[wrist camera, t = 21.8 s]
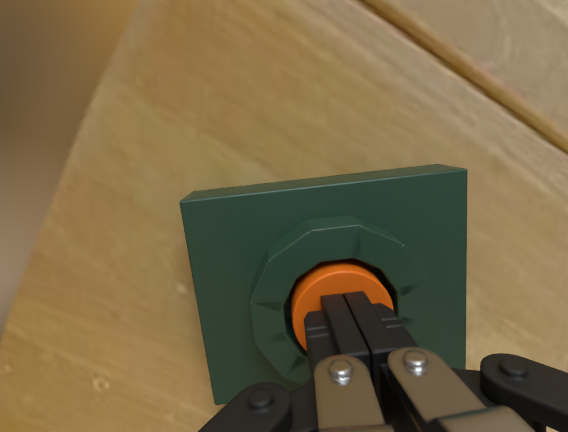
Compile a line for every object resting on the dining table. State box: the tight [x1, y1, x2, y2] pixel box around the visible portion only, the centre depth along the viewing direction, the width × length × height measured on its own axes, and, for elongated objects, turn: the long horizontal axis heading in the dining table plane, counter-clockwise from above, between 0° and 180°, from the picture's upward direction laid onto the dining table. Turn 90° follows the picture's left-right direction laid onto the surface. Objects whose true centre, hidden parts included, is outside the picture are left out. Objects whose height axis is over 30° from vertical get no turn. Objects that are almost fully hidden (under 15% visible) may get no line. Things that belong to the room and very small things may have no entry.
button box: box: [180, 164, 467, 405], centre depth 15 cm, size 11×9×4 cm
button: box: [290, 258, 394, 351], centre depth 13 cm, size 4×4×2 cm
